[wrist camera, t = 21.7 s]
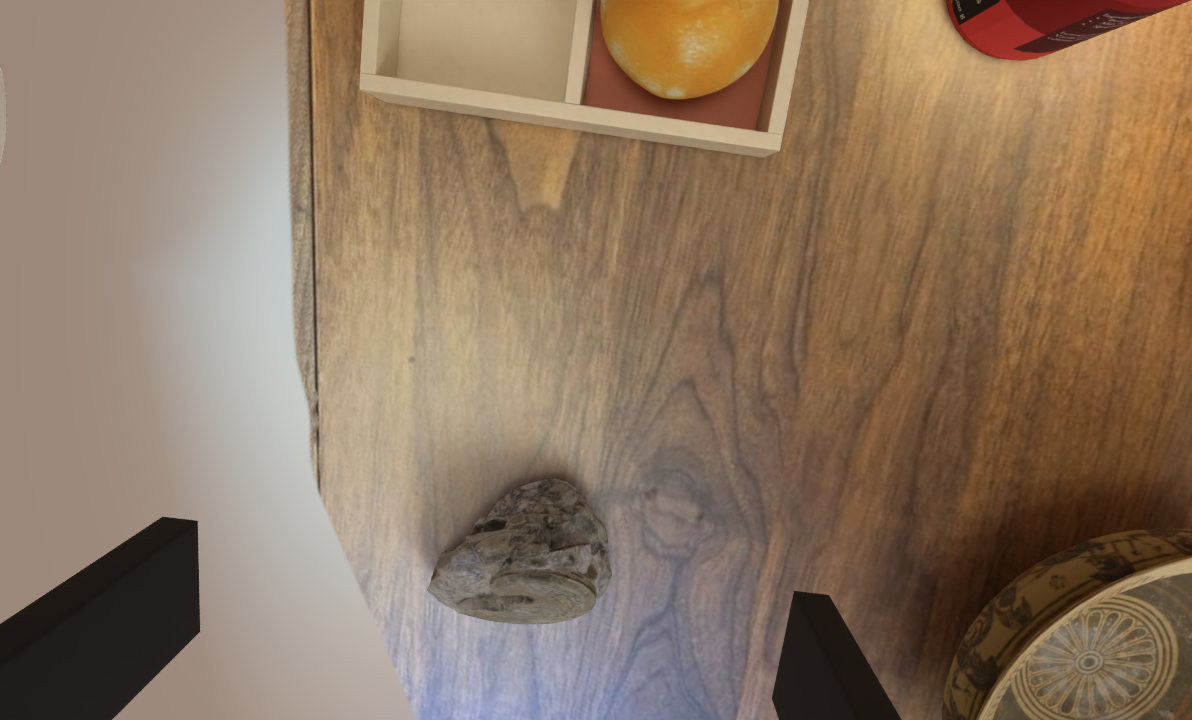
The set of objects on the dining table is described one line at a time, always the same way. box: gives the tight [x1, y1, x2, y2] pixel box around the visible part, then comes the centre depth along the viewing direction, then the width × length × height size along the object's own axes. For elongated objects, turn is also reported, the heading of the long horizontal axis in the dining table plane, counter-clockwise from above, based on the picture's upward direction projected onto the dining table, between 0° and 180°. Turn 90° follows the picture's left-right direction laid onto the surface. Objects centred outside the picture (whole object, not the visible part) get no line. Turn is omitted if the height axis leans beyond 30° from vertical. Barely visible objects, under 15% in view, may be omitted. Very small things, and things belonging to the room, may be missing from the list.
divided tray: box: [359, 0, 809, 158], centre depth 32 cm, size 11×21×4 cm, turn 82°
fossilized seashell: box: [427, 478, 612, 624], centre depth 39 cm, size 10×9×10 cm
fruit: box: [601, 0, 779, 99], centre depth 30 cm, size 8×8×8 cm
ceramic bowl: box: [942, 528, 1192, 720], centre depth 36 cm, size 30×24×10 cm
